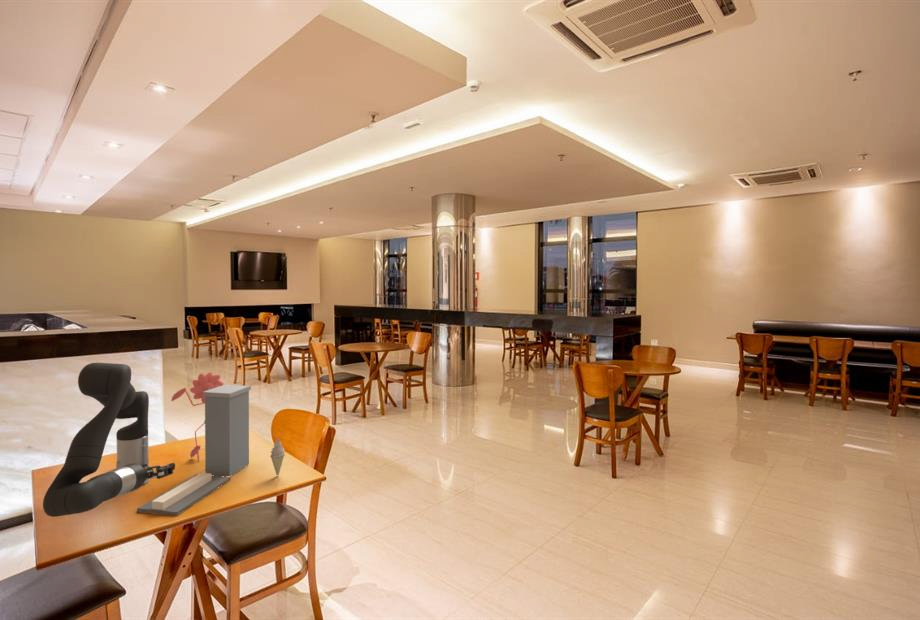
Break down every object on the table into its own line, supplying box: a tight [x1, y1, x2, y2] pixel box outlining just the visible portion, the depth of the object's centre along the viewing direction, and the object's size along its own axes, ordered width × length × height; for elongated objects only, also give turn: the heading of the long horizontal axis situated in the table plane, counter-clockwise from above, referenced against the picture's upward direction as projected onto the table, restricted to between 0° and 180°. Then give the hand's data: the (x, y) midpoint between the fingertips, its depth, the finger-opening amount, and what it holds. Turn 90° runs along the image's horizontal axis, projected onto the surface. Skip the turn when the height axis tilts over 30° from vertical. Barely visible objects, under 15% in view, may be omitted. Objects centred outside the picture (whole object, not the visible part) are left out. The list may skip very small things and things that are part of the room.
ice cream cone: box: [270, 437, 286, 476], centre depth 170 cm, size 5×5×15 cm
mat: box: [136, 473, 231, 517], centre depth 154 cm, size 26×14×1 cm, turn 172°
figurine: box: [171, 371, 224, 462], centre depth 190 cm, size 15×26×35 cm, turn 130°
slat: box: [152, 472, 211, 510], centre depth 152 cm, size 22×4×2 cm, turn 172°
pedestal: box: [203, 384, 252, 477], centre depth 174 cm, size 13×11×32 cm
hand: (159, 466), depth 141 cm, fingers open, 8 cm apart
